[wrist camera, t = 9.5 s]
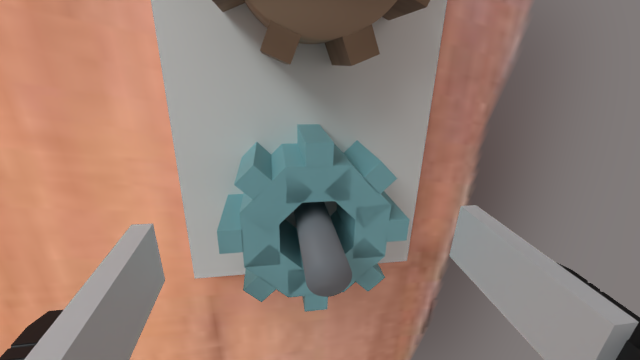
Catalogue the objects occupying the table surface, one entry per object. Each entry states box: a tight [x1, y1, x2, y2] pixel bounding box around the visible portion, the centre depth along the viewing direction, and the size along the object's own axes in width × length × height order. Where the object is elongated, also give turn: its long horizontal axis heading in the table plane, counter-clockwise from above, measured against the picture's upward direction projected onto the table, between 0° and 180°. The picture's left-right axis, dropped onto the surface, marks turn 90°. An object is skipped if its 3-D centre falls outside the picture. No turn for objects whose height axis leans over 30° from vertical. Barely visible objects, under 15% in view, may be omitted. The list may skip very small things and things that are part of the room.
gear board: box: [151, 0, 447, 297], centre depth 13 cm, size 22×14×8 cm, turn 179°
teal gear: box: [217, 124, 410, 311], centre depth 16 cm, size 9×9×4 cm
